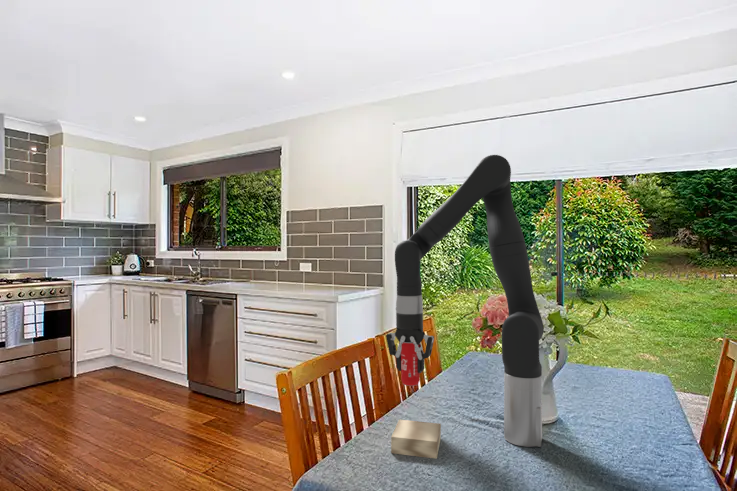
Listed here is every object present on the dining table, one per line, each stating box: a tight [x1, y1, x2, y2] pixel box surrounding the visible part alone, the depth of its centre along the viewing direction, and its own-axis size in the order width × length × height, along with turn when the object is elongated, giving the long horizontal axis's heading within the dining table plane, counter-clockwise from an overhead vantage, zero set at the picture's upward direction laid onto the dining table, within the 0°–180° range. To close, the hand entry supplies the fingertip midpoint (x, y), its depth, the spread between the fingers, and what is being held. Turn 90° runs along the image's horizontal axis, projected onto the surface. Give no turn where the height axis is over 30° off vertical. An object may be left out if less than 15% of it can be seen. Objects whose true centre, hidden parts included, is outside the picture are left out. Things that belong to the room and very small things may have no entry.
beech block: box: [390, 419, 442, 460], centre depth 111 cm, size 11×11×4 cm
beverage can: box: [400, 341, 421, 387], centre depth 124 cm, size 5×5×12 cm
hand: (410, 371), depth 124 cm, fingers closed on beverage can, 5 cm apart
